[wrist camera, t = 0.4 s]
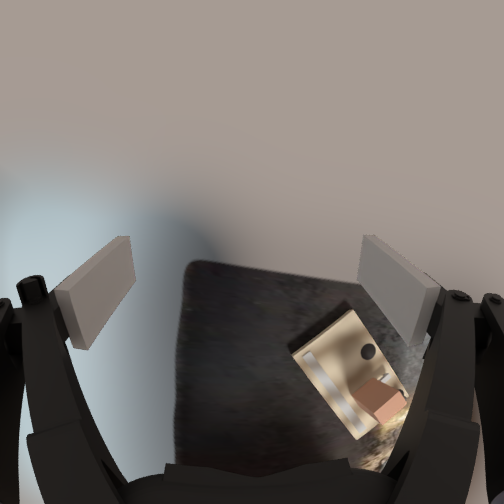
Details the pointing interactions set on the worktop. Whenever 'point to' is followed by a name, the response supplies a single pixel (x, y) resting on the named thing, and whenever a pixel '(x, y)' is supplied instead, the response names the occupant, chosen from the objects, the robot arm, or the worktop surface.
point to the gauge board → (345, 369)
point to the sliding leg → (379, 399)
